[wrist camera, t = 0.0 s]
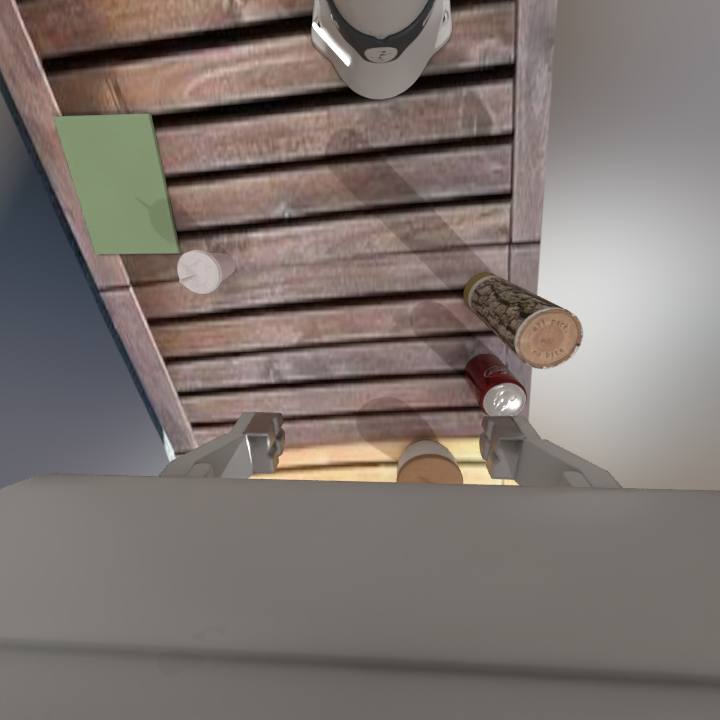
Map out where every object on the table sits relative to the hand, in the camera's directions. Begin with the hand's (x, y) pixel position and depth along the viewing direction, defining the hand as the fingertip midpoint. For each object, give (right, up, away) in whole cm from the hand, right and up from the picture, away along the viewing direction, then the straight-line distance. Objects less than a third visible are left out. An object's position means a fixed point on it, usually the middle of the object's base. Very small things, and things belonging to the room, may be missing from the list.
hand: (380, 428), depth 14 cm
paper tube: (+20, +15, +45) cm, 52 cm away
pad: (-40, +31, +41) cm, 65 cm away
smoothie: (-25, +20, +45) cm, 55 cm away
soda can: (+23, +1, +51) cm, 56 cm away
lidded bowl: (+13, -17, +59) cm, 63 cm away
